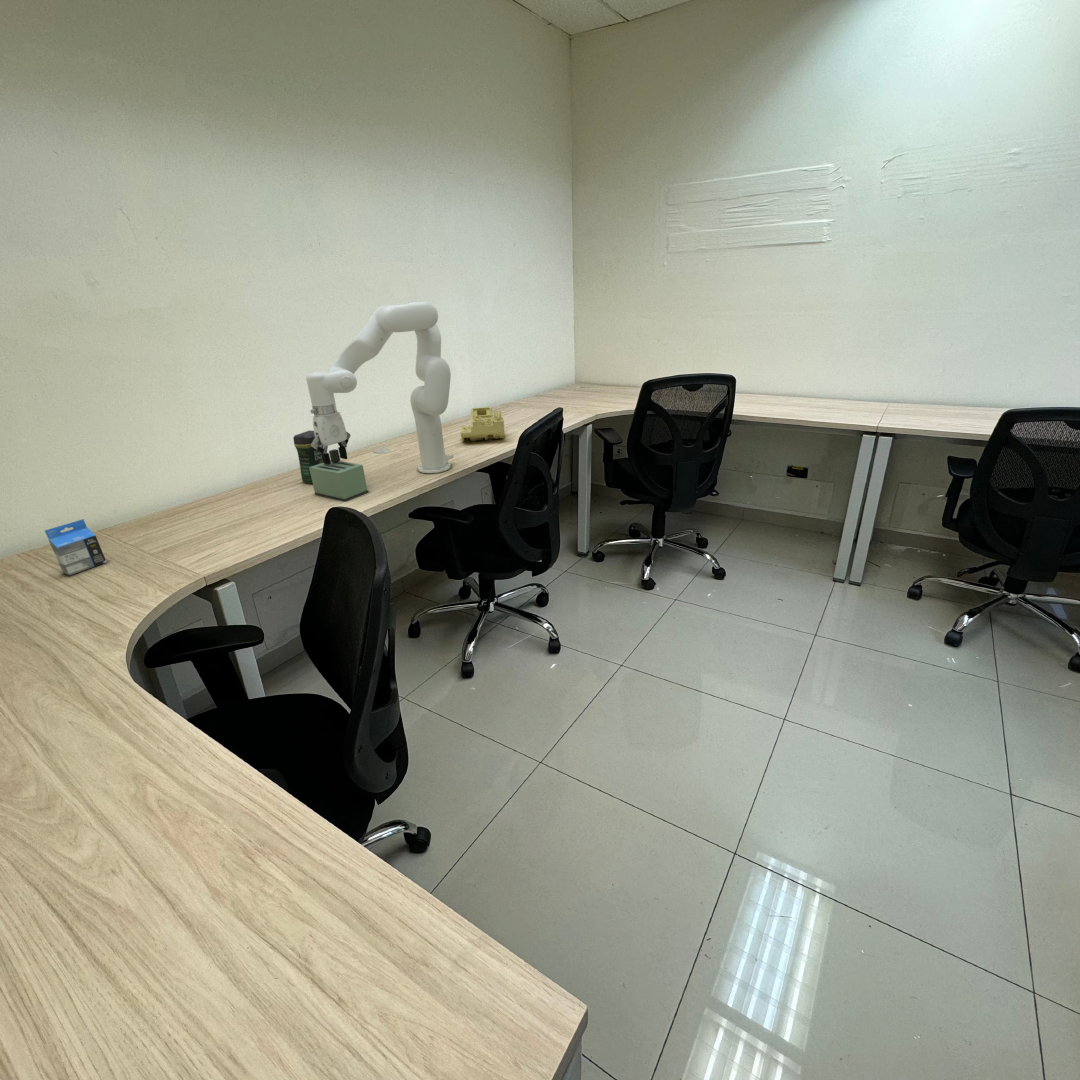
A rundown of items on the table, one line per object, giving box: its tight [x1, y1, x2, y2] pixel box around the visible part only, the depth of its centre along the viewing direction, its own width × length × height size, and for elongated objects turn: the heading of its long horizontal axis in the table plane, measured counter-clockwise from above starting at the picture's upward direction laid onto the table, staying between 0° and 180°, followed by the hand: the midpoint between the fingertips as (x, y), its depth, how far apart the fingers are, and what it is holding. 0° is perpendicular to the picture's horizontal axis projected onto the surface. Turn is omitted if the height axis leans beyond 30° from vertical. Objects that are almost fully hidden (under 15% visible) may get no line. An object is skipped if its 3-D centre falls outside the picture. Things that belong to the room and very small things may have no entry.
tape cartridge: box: [44, 518, 107, 576], centre depth 146 cm, size 9×4×12 cm, turn 148°
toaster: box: [309, 459, 369, 502], centre depth 192 cm, size 10×16×10 cm, turn 57°
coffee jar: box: [293, 430, 324, 484], centre depth 206 cm, size 10×8×19 cm
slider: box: [328, 448, 341, 462], centre depth 193 cm, size 2×2×4 cm
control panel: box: [460, 406, 506, 442], centre depth 255 cm, size 24×16×20 cm
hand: (335, 460), depth 194 cm, fingers open, 6 cm apart
